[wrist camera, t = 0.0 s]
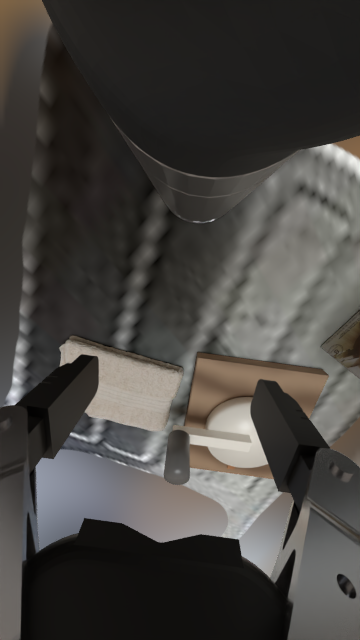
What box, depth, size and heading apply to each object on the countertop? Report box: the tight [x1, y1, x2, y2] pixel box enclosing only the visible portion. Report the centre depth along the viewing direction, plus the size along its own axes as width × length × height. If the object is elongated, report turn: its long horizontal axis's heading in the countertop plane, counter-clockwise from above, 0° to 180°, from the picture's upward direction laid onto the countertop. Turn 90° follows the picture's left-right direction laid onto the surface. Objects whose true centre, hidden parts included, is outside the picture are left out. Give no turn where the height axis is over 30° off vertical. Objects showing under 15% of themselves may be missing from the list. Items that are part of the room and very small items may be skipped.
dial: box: [164, 397, 268, 485], centre depth 27 cm, size 18×12×8 cm
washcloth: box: [60, 335, 183, 431], centre depth 31 cm, size 12×18×3 cm, turn 74°
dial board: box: [184, 352, 329, 479], centre depth 32 cm, size 22×18×2 cm
